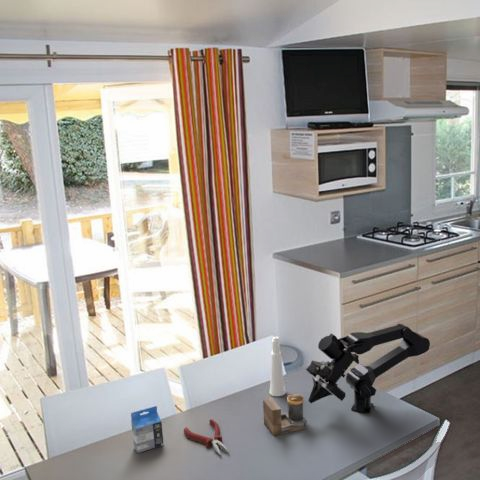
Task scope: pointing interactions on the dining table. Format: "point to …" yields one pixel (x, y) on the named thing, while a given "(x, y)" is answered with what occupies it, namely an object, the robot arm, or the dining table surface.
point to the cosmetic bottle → (276, 370)
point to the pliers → (208, 441)
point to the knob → (295, 409)
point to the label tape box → (146, 429)
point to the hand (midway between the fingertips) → (309, 402)
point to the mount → (277, 419)
